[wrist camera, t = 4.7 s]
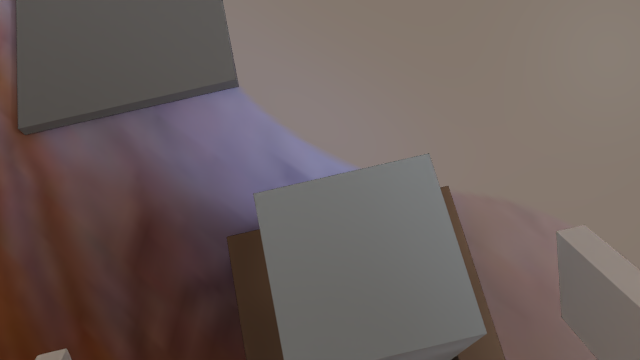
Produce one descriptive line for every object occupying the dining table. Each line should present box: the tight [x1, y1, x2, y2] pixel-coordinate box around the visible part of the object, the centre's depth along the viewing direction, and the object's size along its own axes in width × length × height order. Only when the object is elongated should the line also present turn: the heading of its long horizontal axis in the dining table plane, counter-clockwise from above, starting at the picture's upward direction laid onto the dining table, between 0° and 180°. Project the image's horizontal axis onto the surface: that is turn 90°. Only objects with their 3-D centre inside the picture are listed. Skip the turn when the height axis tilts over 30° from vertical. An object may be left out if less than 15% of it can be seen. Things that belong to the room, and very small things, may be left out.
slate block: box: [253, 153, 487, 360], centre depth 17 cm, size 4×4×11 cm
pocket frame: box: [227, 186, 505, 360], centre depth 21 cm, size 9×9×2 cm
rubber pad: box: [16, 0, 239, 135], centre depth 28 cm, size 10×10×1 cm
